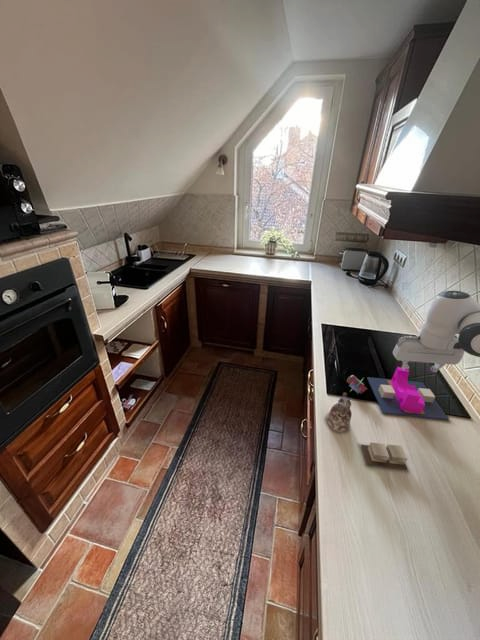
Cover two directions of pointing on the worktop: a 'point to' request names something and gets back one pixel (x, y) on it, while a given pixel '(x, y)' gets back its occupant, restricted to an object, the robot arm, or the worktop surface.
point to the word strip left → (385, 456)
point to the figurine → (340, 414)
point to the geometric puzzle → (356, 384)
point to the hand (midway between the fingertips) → (418, 370)
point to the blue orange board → (391, 406)
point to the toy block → (406, 392)
